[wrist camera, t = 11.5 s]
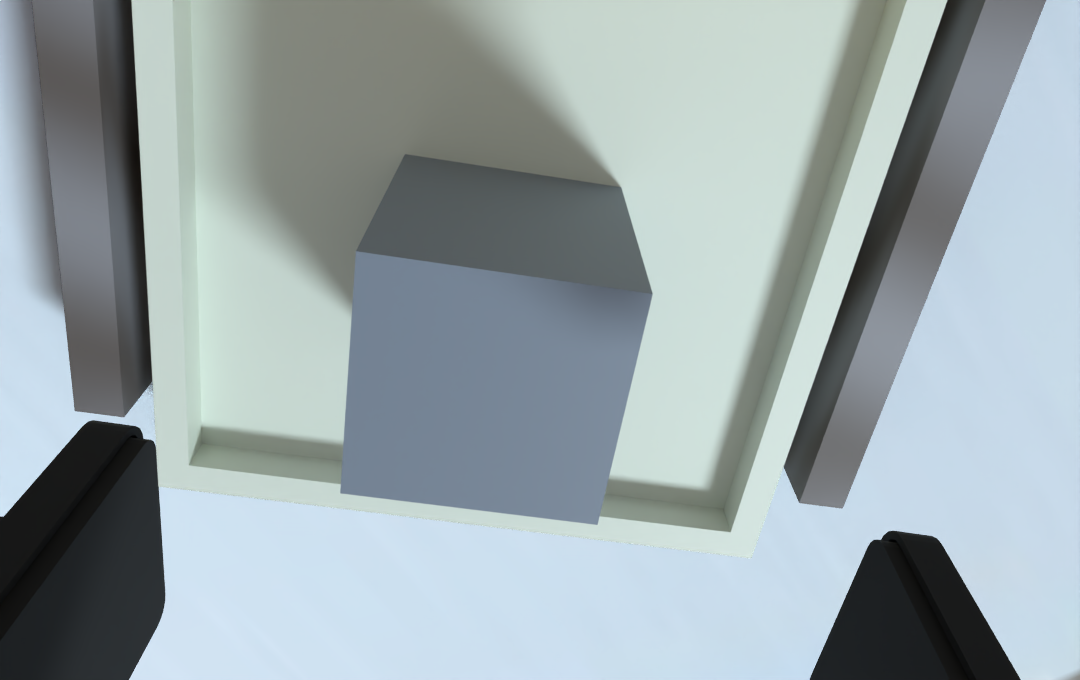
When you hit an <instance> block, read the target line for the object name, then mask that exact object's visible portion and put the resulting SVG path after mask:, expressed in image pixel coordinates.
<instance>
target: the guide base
mask: <svg viewBox="0 0 1080 680" xmlns="http://www.w3.org/2000/svg"><path fill="white" fill-rule="evenodd" d="M1045 2H1046V0H947V3H946V6H945V9H944V12H943V14H942V17H941V20H940V23H939V26H938V29H937V31H936V34H935V37H934V40H933V43H932V46H931V49H930V51H929V54H928V57H927V60H926V63H925V66H924V68H923V71H922V74H921V77H920V80H919V83H918V86H917V88H916V91H915V94H914V97H913V100H912V103H911V105H910V108H909V111H908V114H907V117H906V120H905V123H904V125H903V128H902V131H901V134H900V137H899V140H898V142H897V145H896V148H895V151H894V154H893V157H892V160H891V162H890V165H889V168H888V171H887V174H886V177H885V179H884V182H883V185H882V188H881V191H880V194H879V197H878V199H877V202H876V205H875V208H874V211H873V214H872V216H871V219H870V222H869V225H868V228H867V231H866V234H865V236H864V239H863V242H862V245H861V248H860V251H859V253H858V256H857V259H856V262H855V265H854V268H853V271H852V273H851V276H850V279H849V282H848V285H847V288H846V290H845V293H844V296H843V299H842V302H841V305H840V308H839V310H838V313H837V316H836V319H835V322H834V325H833V327H832V330H831V333H830V336H829V339H828V342H827V345H826V347H825V350H824V353H823V356H822V359H821V362H820V364H819V367H818V370H817V373H816V376H815V379H814V382H813V384H812V387H811V390H810V393H809V396H808V399H807V401H806V404H805V407H804V410H803V413H802V416H801V419H800V421H799V424H798V427H797V430H796V433H795V436H794V438H793V441H792V444H791V447H790V450H789V453H788V456H787V458H786V461H785V464H784V469H785V471H786V473H787V476H788V478H789V480H790V483H791V485H792V487H793V489H794V492H795V494H796V496H797V499H798V501H799V503H804V504H812V505H819V506H827V507H835V508H843V506H844V504H845V501H846V499H847V496H848V494H849V491H850V489H851V486H852V484H853V481H854V479H855V476H856V474H857V471H858V469H859V466H860V464H861V461H862V459H863V456H864V454H865V451H866V449H867V446H868V444H869V441H870V439H871V436H872V434H873V431H874V429H875V426H876V424H877V421H878V419H879V416H880V414H881V411H882V409H883V406H884V404H885V401H886V399H887V396H888V394H889V391H890V389H891V386H892V384H893V381H894V379H895V376H896V374H897V371H898V369H899V366H900V364H901V361H902V359H903V356H904V354H905V351H906V349H907V346H908V344H909V341H910V339H911V336H912V334H913V331H914V329H915V326H916V324H917V321H918V319H919V316H920V314H921V311H922V309H923V306H924V304H925V301H926V299H927V296H928V294H929V291H930V289H931V286H932V284H933V281H934V279H935V276H936V274H937V271H938V269H939V266H940V264H941V261H942V259H943V256H944V254H945V251H946V249H947V246H948V244H949V241H950V239H951V236H952V234H953V231H954V229H955V226H956V224H957V221H958V219H959V216H960V214H961V211H962V209H963V206H964V204H965V201H966V199H967V196H968V194H969V191H970V189H971V187H972V184H973V182H974V179H975V177H976V174H977V172H978V169H979V167H980V164H981V162H982V159H983V157H984V154H985V152H986V149H987V147H988V144H989V142H990V139H991V137H992V134H993V132H994V129H995V127H996V124H997V122H998V119H999V117H1000V114H1001V112H1002V109H1003V107H1004V104H1005V102H1006V99H1007V97H1008V94H1009V92H1010V89H1011V87H1012V84H1013V82H1014V79H1015V77H1016V74H1017V72H1018V69H1019V67H1020V64H1021V62H1022V59H1023V57H1024V54H1025V52H1026V49H1027V47H1028V44H1029V42H1030V39H1031V37H1032V34H1033V32H1034V29H1035V27H1036V24H1037V22H1038V19H1039V17H1040V14H1041V12H1042V9H1043V7H1044V4H1045ZM32 8H33V18H34V27H35V37H36V46H37V56H38V65H39V75H40V84H41V94H42V103H43V113H44V122H45V132H46V141H47V151H48V160H49V170H50V179H51V189H52V198H53V208H54V217H55V227H56V236H57V246H58V255H59V265H60V274H61V284H62V293H63V303H64V312H65V322H66V332H67V341H68V351H69V360H70V370H71V379H72V389H73V398H74V408H75V411H79V412H87V413H95V414H103V415H111V416H118V417H125V415H126V414H127V413H128V411H129V410H130V409H131V408H132V406H133V405H134V404H135V403H136V401H137V400H138V399H139V398H140V396H141V395H142V394H143V392H144V391H145V390H146V389H147V387H148V386H149V385H150V384H151V382H152V381H153V380H152V362H151V343H150V325H149V307H148V289H147V271H146V253H145V235H144V217H143V199H142V181H141V163H140V145H139V127H138V109H137V91H136V73H135V55H134V37H133V18H132V0H32Z"/></svg>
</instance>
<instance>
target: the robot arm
mask: <svg viewBox="0 0 1080 680" xmlns="http://www.w3.org/2000/svg"><path fill="white" fill-rule="evenodd" d="M164 604H165V582H164V566H163V550H162V535H161V519H160V503H159V487H158V472H157V456H156V447H155V444H154V442H153V441H152V440H146V439H143V434H142V432H141V430H140V428H138V427H136V426H130V425H122V424H115V423H108V422H101V421H89V422H87V423H86V424H85V425H84V426H83V427H82V428H81V429H80V430H79V431H78V432H77V433H76V435H75V436H74V437H73V438H72V439H71V440H70V441H69V443H68V444H67V445H66V446H65V447H64V448H63V449H62V451H61V452H60V453H59V454H58V455H57V456H56V457H55V459H54V460H53V461H52V462H51V463H50V464H49V466H48V467H47V468H46V469H45V470H44V471H43V472H42V474H41V475H40V476H39V477H38V478H37V479H36V480H35V482H34V483H33V484H32V485H31V486H30V487H29V488H28V490H27V491H26V492H25V493H24V494H23V495H22V496H21V498H20V499H19V500H18V501H17V502H16V503H15V504H14V506H13V507H12V508H11V509H10V510H9V511H8V513H7V514H6V515H5V516H4V517H0V680H129V678H130V677H131V675H132V673H133V671H134V669H135V667H136V665H137V663H138V662H139V660H140V658H141V656H142V654H143V652H144V650H145V649H146V647H147V645H148V643H149V641H150V639H151V637H152V636H153V634H154V632H155V630H156V628H157V626H158V624H159V622H160V619H161V616H162V613H163V609H164ZM810 680H1021V679H1020V678H1019V676H1018V674H1017V673H1016V671H1015V669H1014V667H1013V666H1012V664H1011V662H1010V661H1009V659H1008V657H1007V655H1006V654H1005V652H1004V650H1003V649H1002V647H1001V645H1000V643H999V642H998V640H997V638H996V637H995V635H994V633H993V631H992V630H991V628H990V626H989V625H988V623H987V621H986V619H985V618H984V616H983V614H982V613H981V611H980V609H979V607H978V606H977V604H976V602H975V601H974V599H973V597H972V595H971V594H970V592H969V590H968V589H967V587H966V585H965V583H964V582H963V580H962V578H961V577H960V575H959V573H958V571H957V570H956V568H955V566H954V565H953V563H952V561H951V559H950V558H949V556H948V554H947V553H946V551H945V549H944V547H943V546H942V544H941V543H940V542H939V540H938V539H937V538H935V537H933V536H927V535H920V534H913V533H905V532H898V531H889V532H887V533H886V534H885V535H884V536H883V538H882V539H881V540H873V541H872V542H871V543H870V544H869V546H868V548H867V550H866V552H865V555H864V557H863V559H862V561H861V564H860V566H859V568H858V570H857V573H856V575H855V577H854V579H853V582H852V584H851V586H850V589H849V591H848V593H847V595H846V598H845V600H844V602H843V604H842V607H841V609H840V611H839V614H838V616H837V618H836V620H835V623H834V625H833V627H832V629H831V632H830V634H829V636H828V639H827V641H826V643H825V645H824V648H823V650H822V652H821V654H820V657H819V659H818V661H817V663H816V666H815V668H814V670H813V673H812V675H811V678H810Z"/></svg>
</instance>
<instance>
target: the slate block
mask: <svg viewBox="0 0 1080 680" xmlns="http://www.w3.org/2000/svg"><path fill="white" fill-rule="evenodd" d="M652 295H653V293H652V290H651V286H650V283H649V279H648V276H647V273H646V269H645V266H644V263H643V259H642V256H641V252H640V249H639V246H638V242H637V239H636V235H635V232H634V229H633V225H632V222H631V219H630V215H629V212H628V208H627V205H626V202H625V198H624V195H623V192H622V188H621V187H616V186H610V185H603V184H597V183H590V182H584V181H577V180H571V179H564V178H558V177H551V176H545V175H538V174H532V173H525V172H519V171H512V170H506V169H499V168H493V167H486V166H480V165H473V164H467V163H460V162H453V161H447V160H440V159H434V158H427V157H421V156H414V155H408V154H405V155H404V157H403V159H402V161H401V163H400V165H399V167H398V169H397V171H396V173H395V175H394V177H393V179H392V181H391V183H390V185H389V187H388V189H387V191H386V193H385V194H384V196H383V198H382V200H381V202H380V204H379V206H378V208H377V210H376V212H375V214H374V216H373V218H372V220H371V222H370V224H369V226H368V228H367V230H366V232H365V234H364V236H363V238H362V240H361V242H360V244H359V246H358V248H357V250H356V256H355V272H354V287H353V303H352V318H351V334H350V349H349V365H348V380H347V396H346V411H345V427H344V442H343V458H342V473H341V489H340V493H341V494H349V495H357V496H366V497H374V498H382V499H390V500H398V501H406V502H415V503H423V504H431V505H439V506H447V507H455V508H463V509H472V510H480V511H488V512H496V513H504V514H512V515H521V516H529V517H537V518H545V519H553V520H561V521H569V522H578V523H586V524H594V525H598V521H599V517H600V512H601V508H602V504H603V500H604V496H605V492H606V487H607V483H608V479H609V475H610V471H611V467H612V462H613V458H614V454H615V450H616V446H617V442H618V437H619V433H620V429H621V425H622V421H623V416H624V412H625V408H626V404H627V400H628V396H629V391H630V387H631V383H632V379H633V375H634V371H635V366H636V362H637V358H638V354H639V350H640V346H641V341H642V337H643V333H644V329H645V325H646V320H647V316H648V312H649V308H650V304H651V300H652Z"/></svg>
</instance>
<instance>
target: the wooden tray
mask: <svg viewBox="0 0 1080 680" xmlns="http://www.w3.org/2000/svg"><path fill="white" fill-rule="evenodd" d="M946 3H947V0H132V18H133V37H134V55H135V73H136V91H137V109H138V127H139V145H140V163H141V181H142V199H143V217H144V235H145V253H146V271H147V289H148V307H149V325H150V343H151V362H152V380H153V398H154V416H155V434H156V452H157V470H158V487H166V488H175V489H183V490H191V491H199V492H208V493H216V494H224V495H232V496H241V497H249V498H257V499H265V500H274V501H282V502H290V503H298V504H306V505H315V506H323V507H331V508H339V509H348V510H356V511H364V512H372V513H381V514H389V515H397V516H405V517H414V518H422V519H430V520H438V521H447V522H455V523H463V524H471V525H480V526H488V527H496V528H504V529H513V530H521V531H529V532H537V533H546V534H554V535H562V536H570V537H579V538H587V539H595V540H603V541H611V542H620V543H628V544H636V545H644V546H653V547H661V548H669V549H677V550H686V551H694V552H702V553H710V554H719V555H727V556H735V557H743V558H752V555H753V552H754V550H755V547H756V544H757V541H758V538H759V535H760V532H761V530H762V527H763V524H764V521H765V518H766V515H767V513H768V510H769V507H770V504H771V501H772V498H773V495H774V493H775V490H776V487H777V484H778V481H779V478H780V475H781V473H782V470H783V467H784V464H785V461H786V458H787V456H788V453H789V450H790V447H791V444H792V441H793V438H794V436H795V433H796V430H797V427H798V424H799V421H800V419H801V416H802V413H803V410H804V407H805V404H806V401H807V399H808V396H809V393H810V390H811V387H812V384H813V382H814V379H815V376H816V373H817V370H818V367H819V364H820V362H821V359H822V356H823V353H824V350H825V347H826V345H827V342H828V339H829V336H830V333H831V330H832V327H833V325H834V322H835V319H836V316H837V313H838V310H839V308H840V305H841V302H842V299H843V296H844V293H845V290H846V288H847V285H848V282H849V279H850V276H851V273H852V271H853V268H854V265H855V262H856V259H857V256H858V253H859V251H860V248H861V245H862V242H863V239H864V236H865V234H866V231H867V228H868V225H869V222H870V219H871V216H872V214H873V211H874V208H875V205H876V202H877V199H878V197H879V194H880V191H881V188H882V185H883V182H884V179H885V177H886V174H887V171H888V168H889V165H890V162H891V160H892V157H893V154H894V151H895V148H896V145H897V142H898V140H899V137H900V134H901V131H902V128H903V125H904V123H905V120H906V117H907V114H908V111H909V108H910V105H911V103H912V100H913V97H914V94H915V91H916V88H917V86H918V83H919V80H920V77H921V74H922V71H923V68H924V66H925V63H926V60H927V57H928V54H929V51H930V49H931V46H932V43H933V40H934V37H935V34H936V31H937V29H938V26H939V23H940V20H941V17H942V14H943V12H944V9H945V6H946ZM405 154H408V155H414V156H421V157H427V158H434V159H440V160H447V161H453V162H460V163H467V164H473V165H480V166H486V167H493V168H499V169H506V170H512V171H519V172H525V173H532V174H538V175H545V176H551V177H558V178H564V179H571V180H577V181H584V182H590V183H597V184H603V185H610V186H616V187H621V188H622V192H623V195H624V198H625V202H626V205H627V208H628V212H629V215H630V219H631V222H632V225H633V229H634V232H635V235H636V239H637V242H638V246H639V249H640V252H641V256H642V259H643V263H644V266H645V269H646V273H647V276H648V279H649V283H650V286H651V290H652V293H653V295H652V300H651V304H650V308H649V312H648V316H647V320H646V325H645V329H644V333H643V337H642V341H641V346H640V350H639V354H638V358H637V362H636V366H635V371H634V375H633V379H632V383H631V387H630V391H629V396H628V400H627V404H626V408H625V412H624V416H623V421H622V425H621V429H620V433H619V437H618V442H617V446H616V450H615V454H614V458H613V462H612V467H611V471H610V475H609V479H608V483H607V487H606V492H605V496H604V500H603V504H602V508H601V512H600V517H599V521H598V525H594V524H586V523H578V522H569V521H561V520H553V519H545V518H537V517H529V516H521V515H512V514H504V513H496V512H488V511H480V510H472V509H463V508H455V507H447V506H439V505H431V504H423V503H415V502H406V501H398V500H390V499H382V498H374V497H366V496H357V495H349V494H341V493H340V489H341V473H342V458H343V442H344V427H345V411H346V396H347V380H348V365H349V349H350V334H351V318H352V303H353V287H354V272H355V256H356V250H357V248H358V246H359V244H360V242H361V240H362V238H363V236H364V234H365V232H366V230H367V228H368V226H369V224H370V222H371V220H372V218H373V216H374V214H375V212H376V210H377V208H378V206H379V204H380V202H381V200H382V198H383V196H384V194H385V193H386V191H387V189H388V187H389V185H390V183H391V181H392V179H393V177H394V175H395V173H396V171H397V169H398V167H399V165H400V163H401V161H402V159H403V157H404V155H405Z"/></svg>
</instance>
